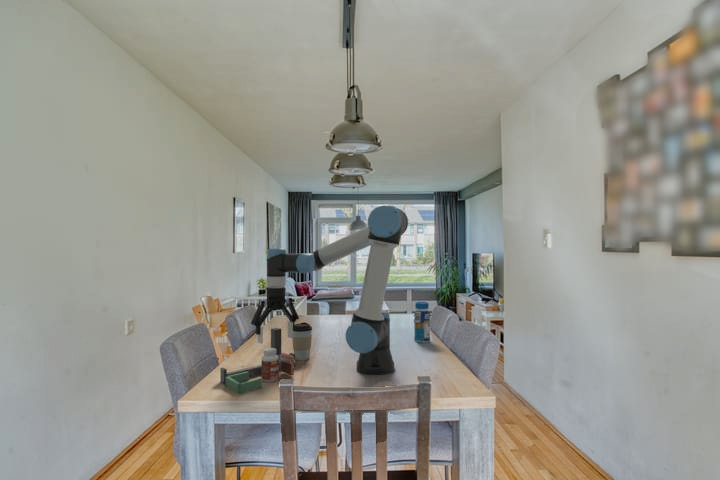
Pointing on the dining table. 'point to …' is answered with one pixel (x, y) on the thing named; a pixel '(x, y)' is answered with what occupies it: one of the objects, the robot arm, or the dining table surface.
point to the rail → (252, 371)
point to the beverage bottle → (422, 322)
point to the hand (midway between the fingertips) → (275, 340)
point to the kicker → (284, 358)
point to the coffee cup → (302, 341)
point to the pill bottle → (270, 365)
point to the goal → (238, 387)
